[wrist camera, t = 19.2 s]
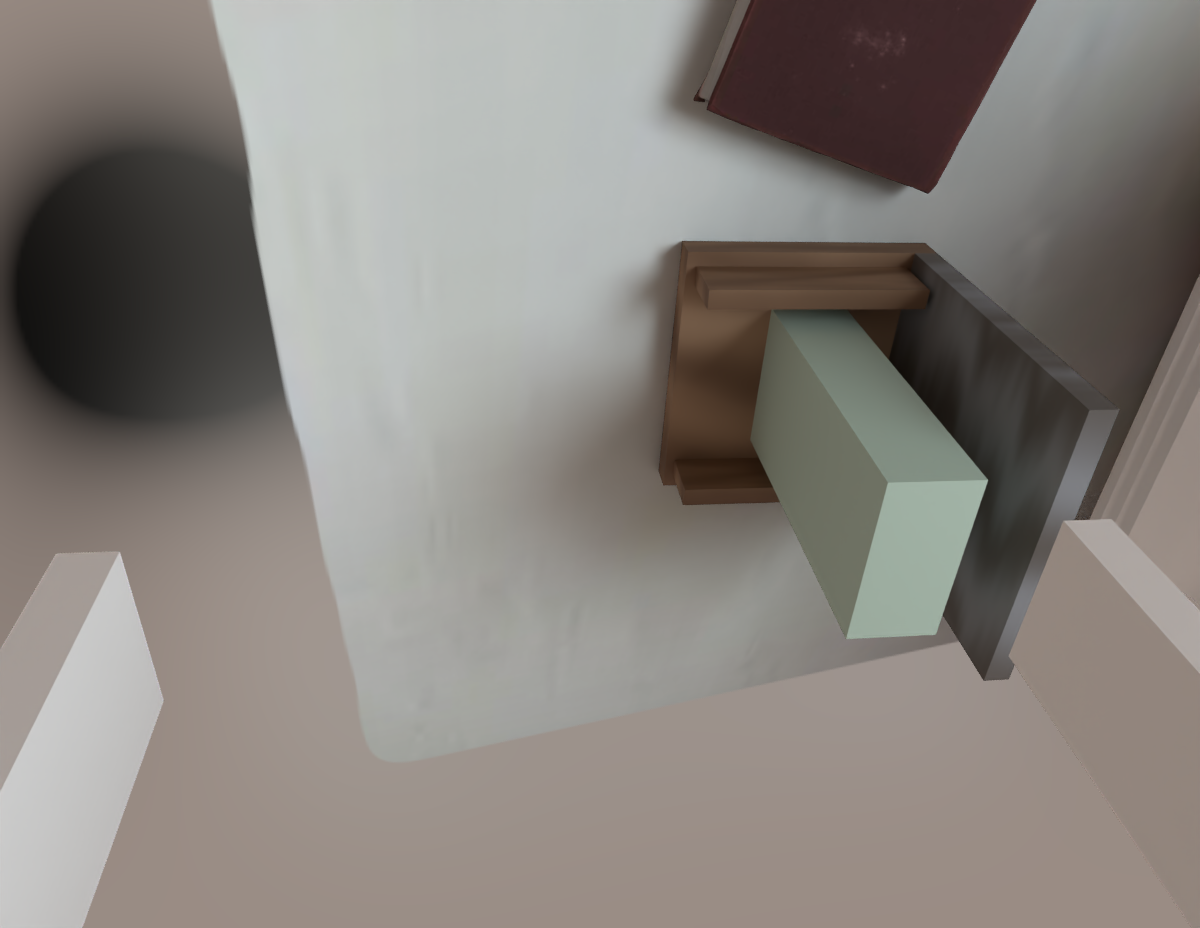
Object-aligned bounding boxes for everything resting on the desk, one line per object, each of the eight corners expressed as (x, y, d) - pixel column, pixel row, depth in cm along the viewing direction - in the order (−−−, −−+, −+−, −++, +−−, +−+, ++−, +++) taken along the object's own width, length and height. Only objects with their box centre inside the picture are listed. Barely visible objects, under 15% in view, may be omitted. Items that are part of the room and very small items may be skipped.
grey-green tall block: (771, 308, 48) (887, 482, 35) (845, 308, 48) (988, 480, 35) (750, 439, 52) (846, 639, 39) (818, 438, 53) (935, 634, 40)
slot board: (682, 241, 47) (778, 415, 32) (924, 243, 49) (1119, 409, 34) (658, 470, 55) (727, 694, 40) (869, 465, 56) (1008, 679, 42)
